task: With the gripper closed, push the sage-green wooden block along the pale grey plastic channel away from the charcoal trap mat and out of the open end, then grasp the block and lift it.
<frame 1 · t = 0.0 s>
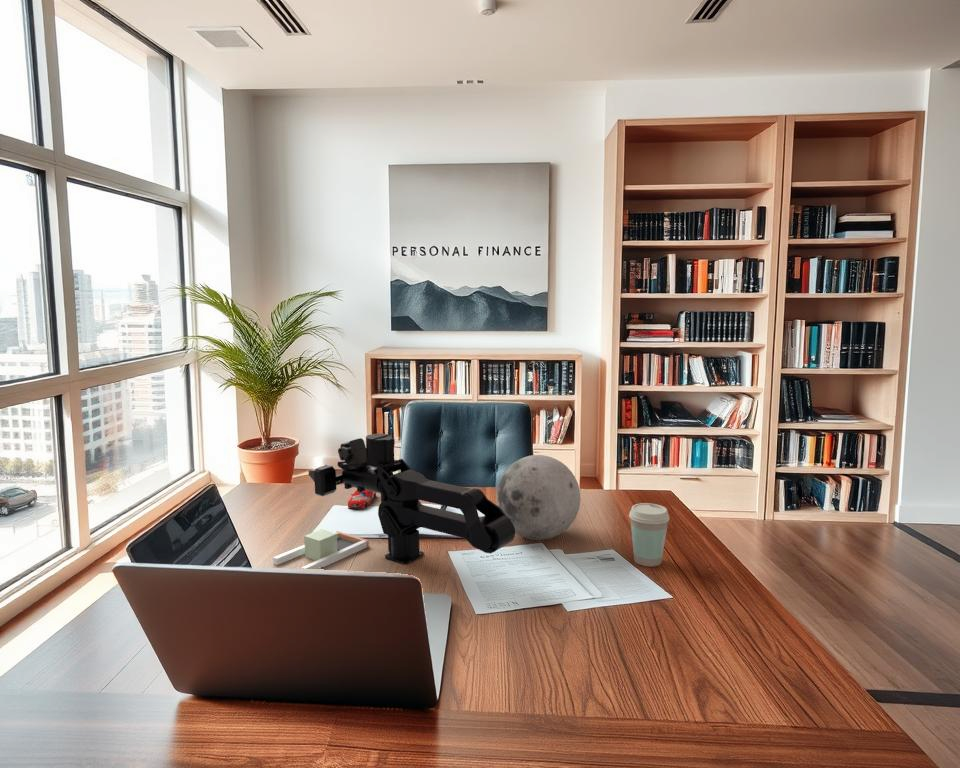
hand: (323, 468, 156), 17 cm above the table, tool horizontal, fingers open, 9 cm apart
channel: (321, 555, 145), on the table
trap: (342, 546, 150), on the table
moon model: (537, 537, 155), on the table
coffee cup: (647, 562, 141), on the table
block: (321, 556, 145), on the table
race car: (362, 504, 182), on the table
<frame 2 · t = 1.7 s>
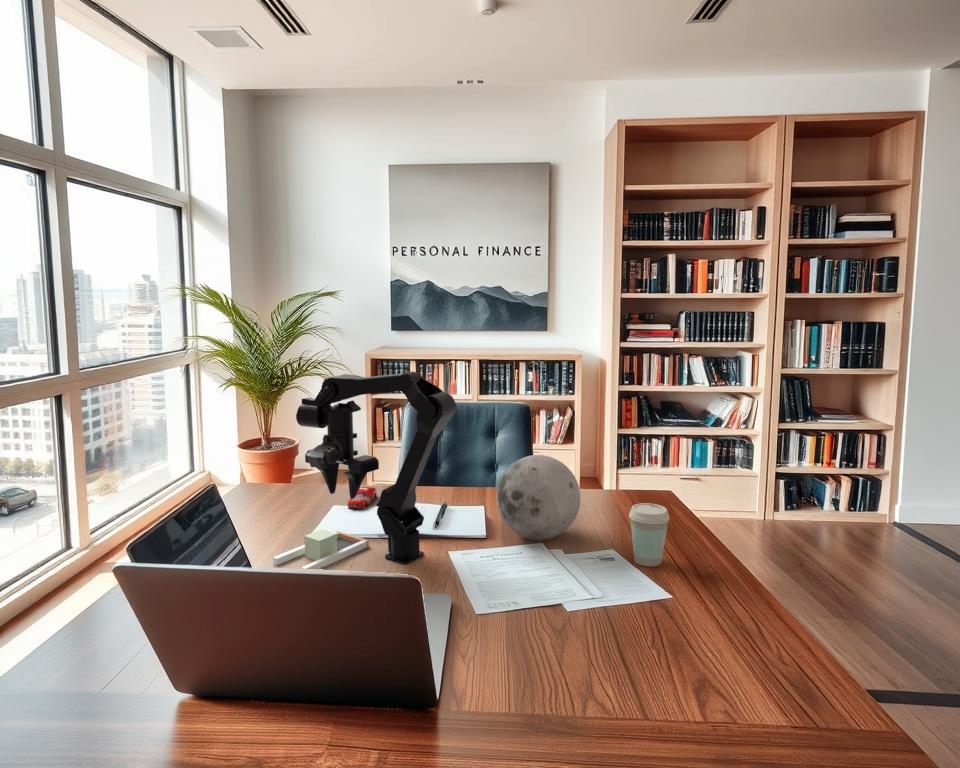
hand: (342, 495, 149), 12 cm above the table, tool pointing down, fingers open, 6 cm apart
nothing on the table moved.
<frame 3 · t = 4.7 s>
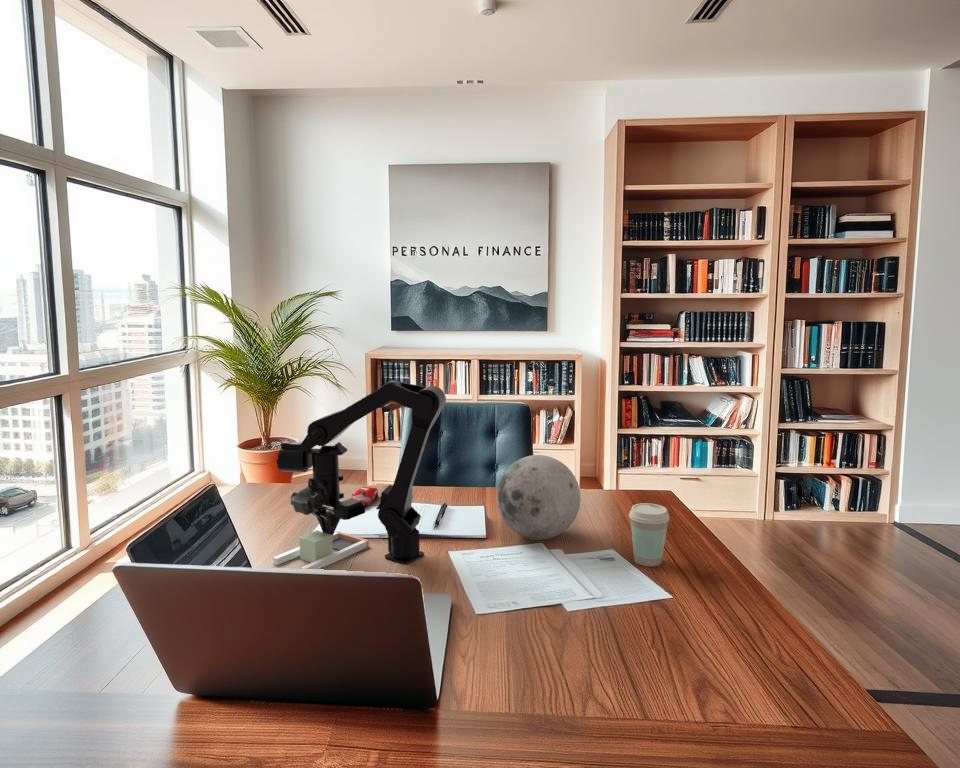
hand: (328, 539, 146), 3 cm above the table, tool pointing down, fingers closed, pressing on block
block: (316, 557, 144), on the table, touching gripper
everything else where it was.
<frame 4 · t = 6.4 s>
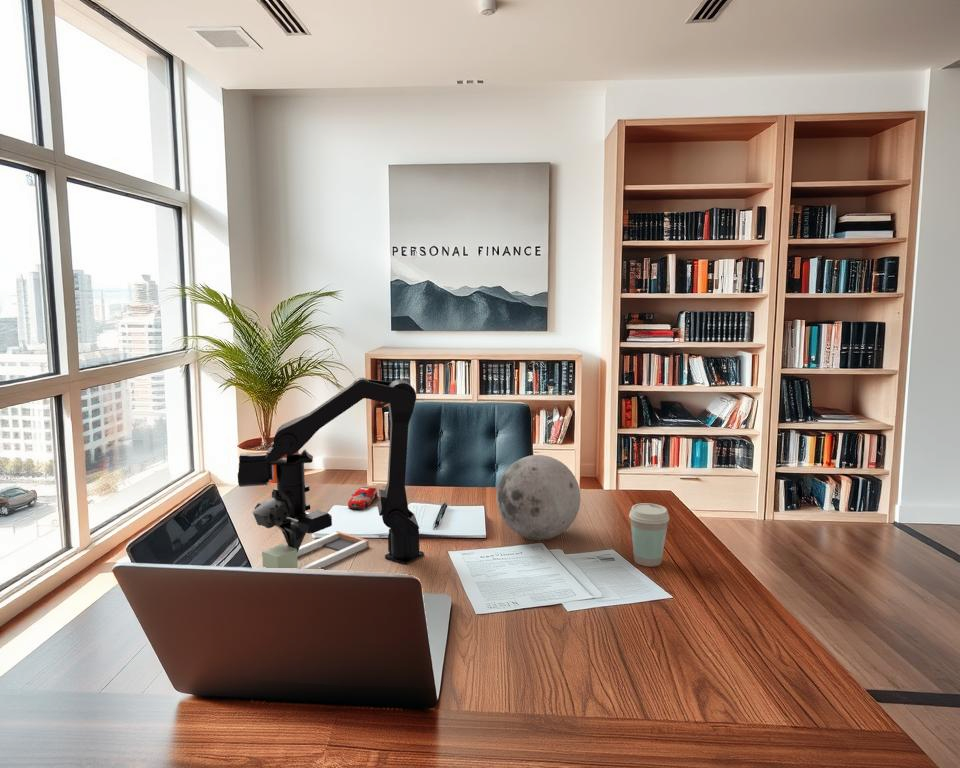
hand: (294, 553, 138), 3 cm above the table, tool pointing down, fingers closed, pressing on block
block: (280, 572, 136), on the table, touching gripper
everything else where it was.
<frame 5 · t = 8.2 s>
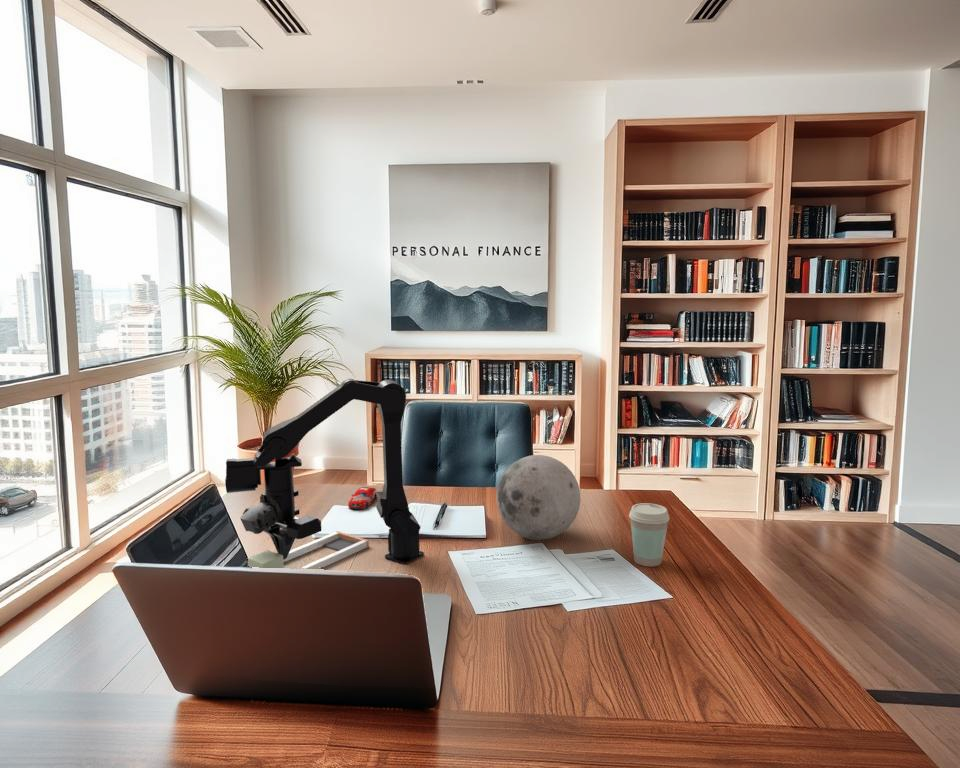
hand: (283, 558, 136), 3 cm above the table, tool pointing down, fingers closed
block: (266, 579, 133), on the table
everything else where it was.
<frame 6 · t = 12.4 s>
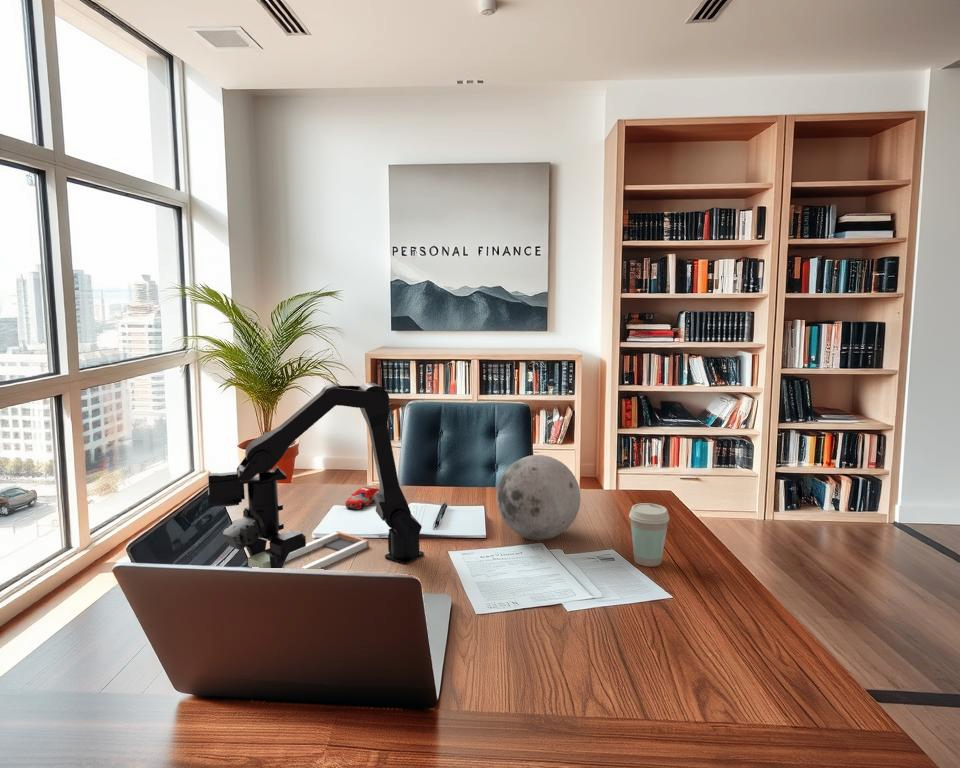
hand: (267, 574, 133), 1 cm above the table, tool pointing down, fingers closed on block, 5 cm apart
block: (267, 579, 133), on the table, touching gripper
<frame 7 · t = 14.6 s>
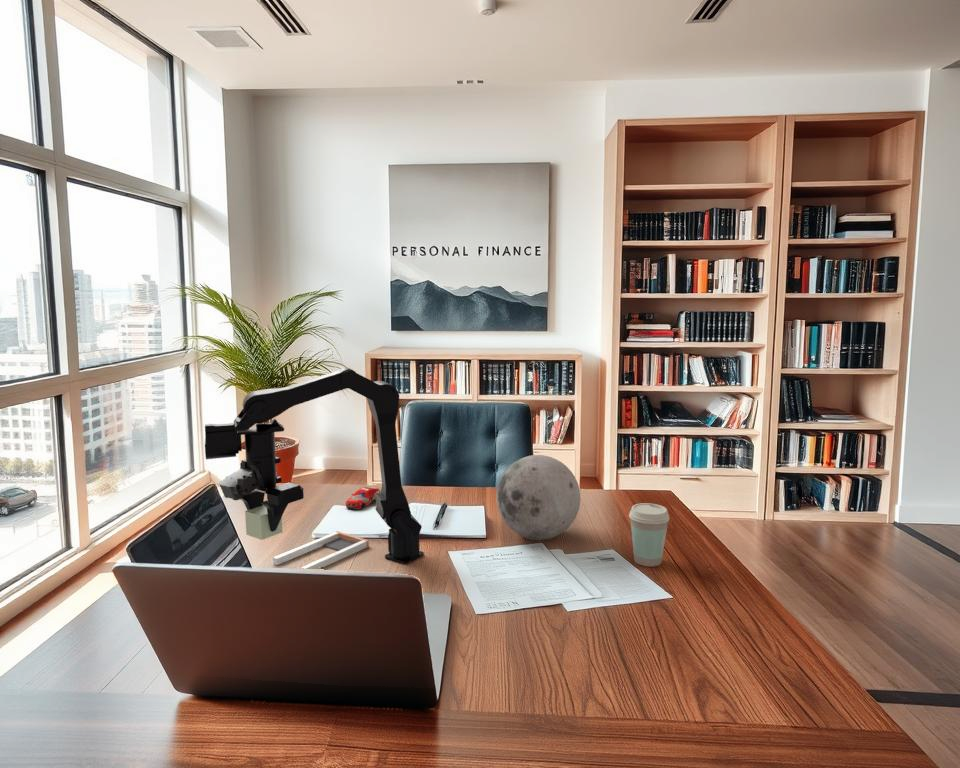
hand: (264, 528, 131), 11 cm above the table, tool pointing down, fingers closed on block, 5 cm apart
block: (264, 533, 131), point 10 cm above the table, touching gripper
everything else where it was.
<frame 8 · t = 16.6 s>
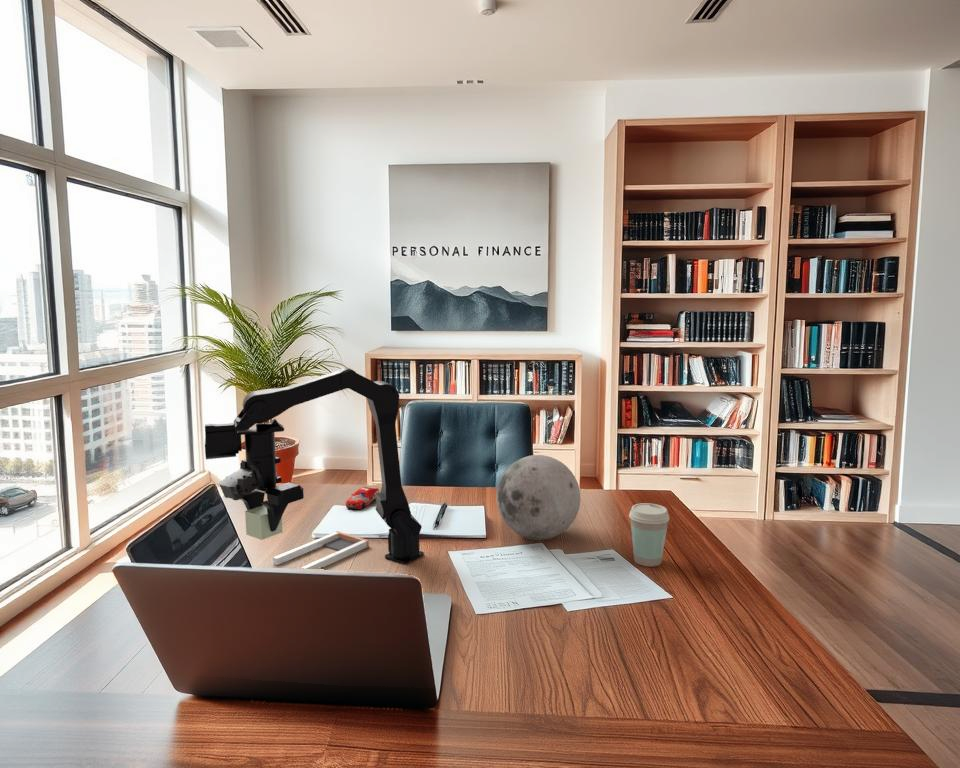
hand: (264, 528, 131), 11 cm above the table, tool pointing down, fingers closed on block, 5 cm apart
block: (264, 533, 131), point 10 cm above the table, touching gripper
everything else where it was.
at the end: the gripper is holding block; block inside the target area (0.4 cm from its centre), point 9.9 cm above the table; block touching gripper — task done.
